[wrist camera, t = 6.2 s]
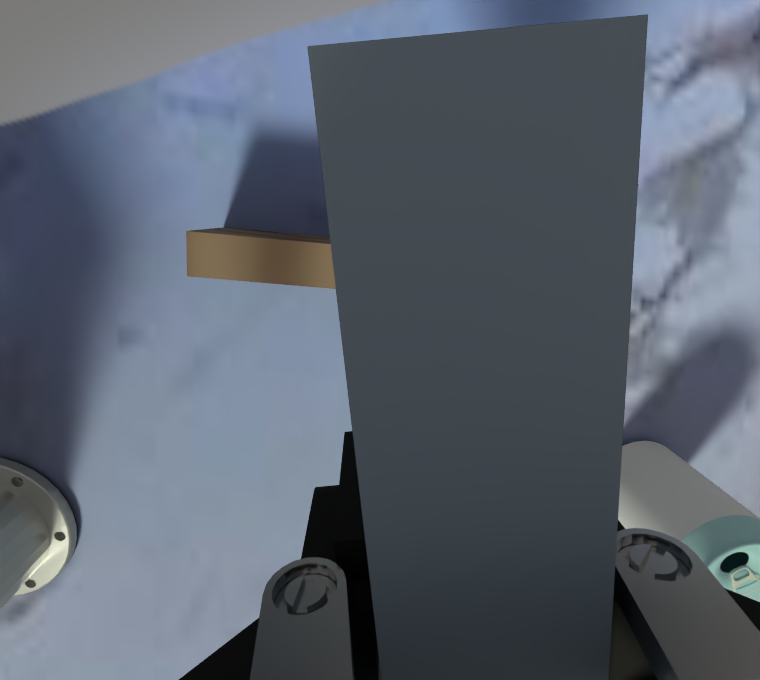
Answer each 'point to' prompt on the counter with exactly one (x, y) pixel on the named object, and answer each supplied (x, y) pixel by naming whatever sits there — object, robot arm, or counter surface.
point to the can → (690, 514)
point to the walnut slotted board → (260, 257)
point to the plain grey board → (486, 333)
